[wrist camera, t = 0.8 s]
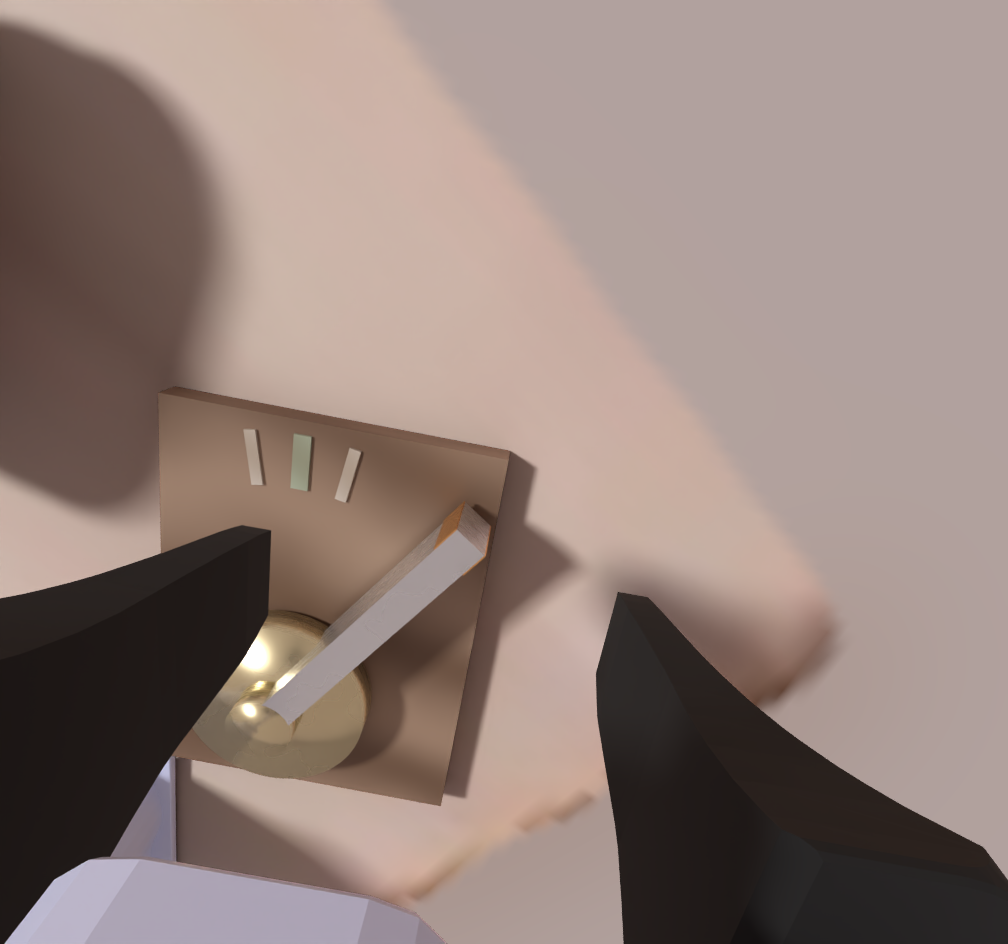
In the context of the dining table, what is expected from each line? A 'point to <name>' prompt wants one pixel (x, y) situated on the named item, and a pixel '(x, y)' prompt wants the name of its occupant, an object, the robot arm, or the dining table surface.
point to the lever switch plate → (341, 553)
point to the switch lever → (329, 664)
